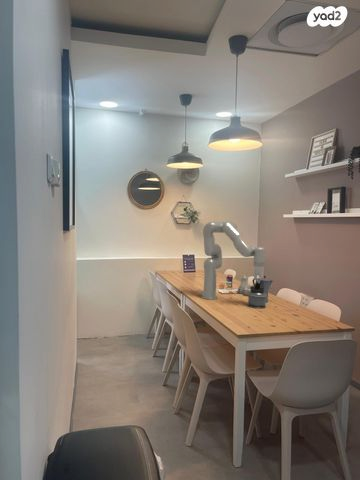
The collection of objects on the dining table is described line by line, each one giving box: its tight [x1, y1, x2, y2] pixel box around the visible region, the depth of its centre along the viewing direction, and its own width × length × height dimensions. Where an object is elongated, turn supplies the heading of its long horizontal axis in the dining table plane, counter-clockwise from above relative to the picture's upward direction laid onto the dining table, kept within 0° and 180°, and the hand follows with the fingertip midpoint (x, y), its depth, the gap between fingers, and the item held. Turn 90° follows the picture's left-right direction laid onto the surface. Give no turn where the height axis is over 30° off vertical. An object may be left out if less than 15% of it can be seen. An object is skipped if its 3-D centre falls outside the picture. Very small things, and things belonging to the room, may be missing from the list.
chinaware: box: [237, 274, 252, 297], centre depth 295 cm, size 28×17×17 cm, turn 161°
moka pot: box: [252, 275, 274, 304], centre depth 266 cm, size 10×15×20 cm, turn 78°
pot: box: [247, 294, 267, 309], centre depth 249 cm, size 13×13×9 cm
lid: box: [248, 285, 266, 296], centre depth 249 cm, size 13×13×5 cm
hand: (257, 288), depth 248 cm, fingers open, 9 cm apart
